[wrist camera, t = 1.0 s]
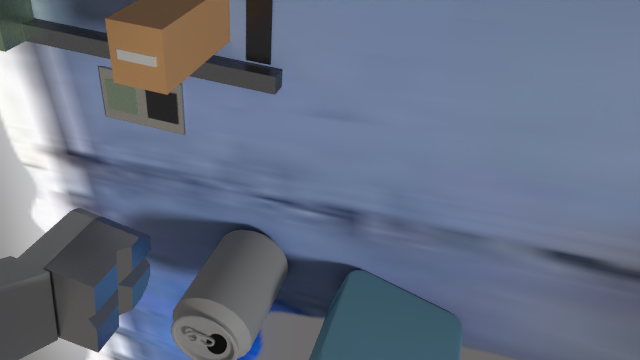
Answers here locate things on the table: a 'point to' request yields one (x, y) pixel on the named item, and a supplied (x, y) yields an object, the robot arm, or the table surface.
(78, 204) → the table surface
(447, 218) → the table surface
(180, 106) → the switch channel
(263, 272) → the can
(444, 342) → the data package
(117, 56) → the orange brown box
